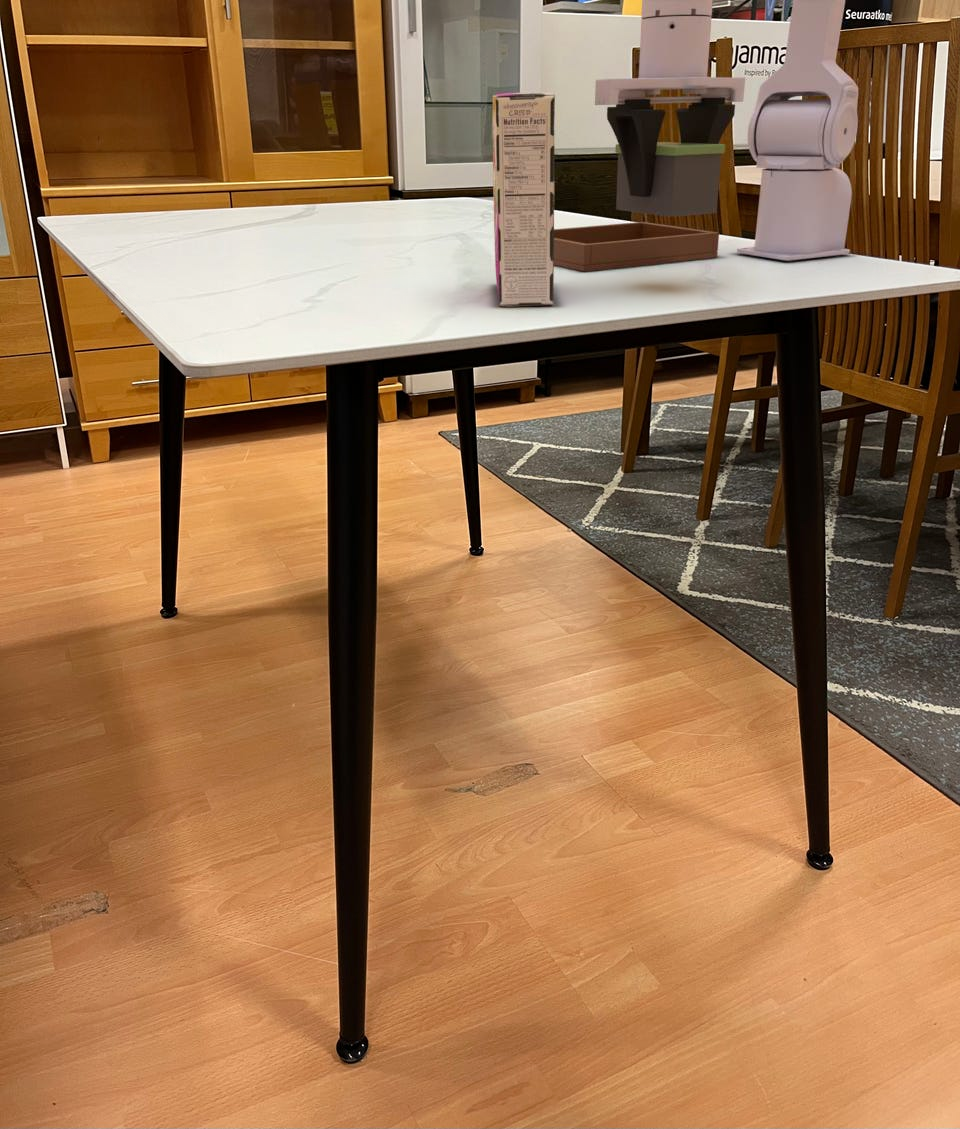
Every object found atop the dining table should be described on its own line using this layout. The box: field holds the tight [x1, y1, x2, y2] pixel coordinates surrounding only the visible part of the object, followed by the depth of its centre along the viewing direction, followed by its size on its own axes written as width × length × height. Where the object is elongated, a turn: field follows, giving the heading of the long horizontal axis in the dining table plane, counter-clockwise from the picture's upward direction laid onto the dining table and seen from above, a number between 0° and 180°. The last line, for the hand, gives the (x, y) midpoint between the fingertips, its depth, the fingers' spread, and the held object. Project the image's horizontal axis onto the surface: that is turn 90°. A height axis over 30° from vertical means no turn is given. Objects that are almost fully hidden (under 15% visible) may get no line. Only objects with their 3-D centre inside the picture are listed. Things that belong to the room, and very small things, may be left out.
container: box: [614, 141, 726, 218], centre depth 85 cm, size 5×8×6 cm, turn 29°
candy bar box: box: [492, 92, 556, 308], centre depth 83 cm, size 11×5×16 cm, turn 0°
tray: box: [554, 221, 720, 273], centre depth 107 cm, size 18×14×3 cm
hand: (665, 194), depth 85 cm, fingers closed on container, 5 cm apart
